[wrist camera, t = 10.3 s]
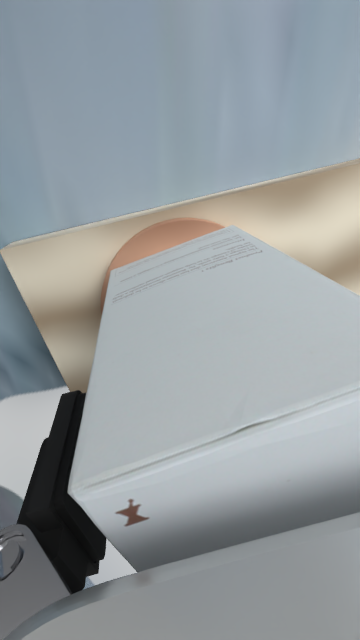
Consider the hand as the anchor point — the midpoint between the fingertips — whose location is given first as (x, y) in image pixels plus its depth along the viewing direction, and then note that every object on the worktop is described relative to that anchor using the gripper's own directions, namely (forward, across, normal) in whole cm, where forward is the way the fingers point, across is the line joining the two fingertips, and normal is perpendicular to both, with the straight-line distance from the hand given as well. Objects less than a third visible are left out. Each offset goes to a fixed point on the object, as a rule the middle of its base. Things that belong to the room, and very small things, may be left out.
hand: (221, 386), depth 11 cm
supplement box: (+8, 0, 0) cm, 8 cm away
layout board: (+11, -4, +1) cm, 11 cm away
